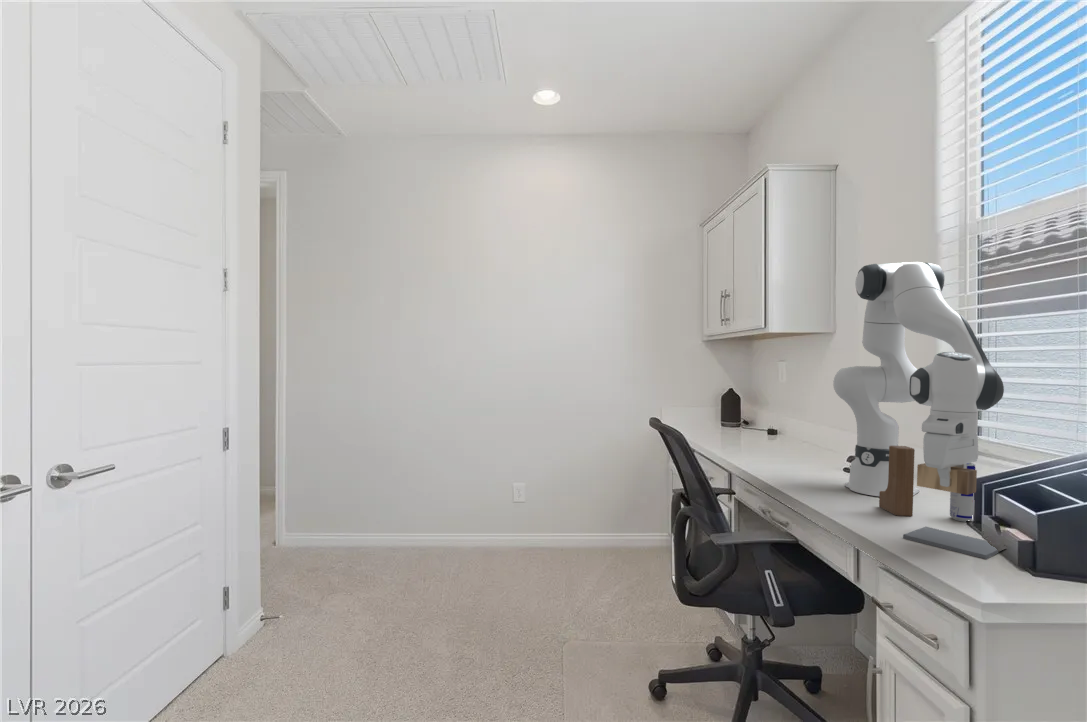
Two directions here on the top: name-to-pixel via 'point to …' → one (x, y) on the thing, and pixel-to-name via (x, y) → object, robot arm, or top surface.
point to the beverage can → (962, 503)
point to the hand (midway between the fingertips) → (951, 484)
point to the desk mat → (952, 542)
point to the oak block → (960, 477)
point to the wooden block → (899, 482)
